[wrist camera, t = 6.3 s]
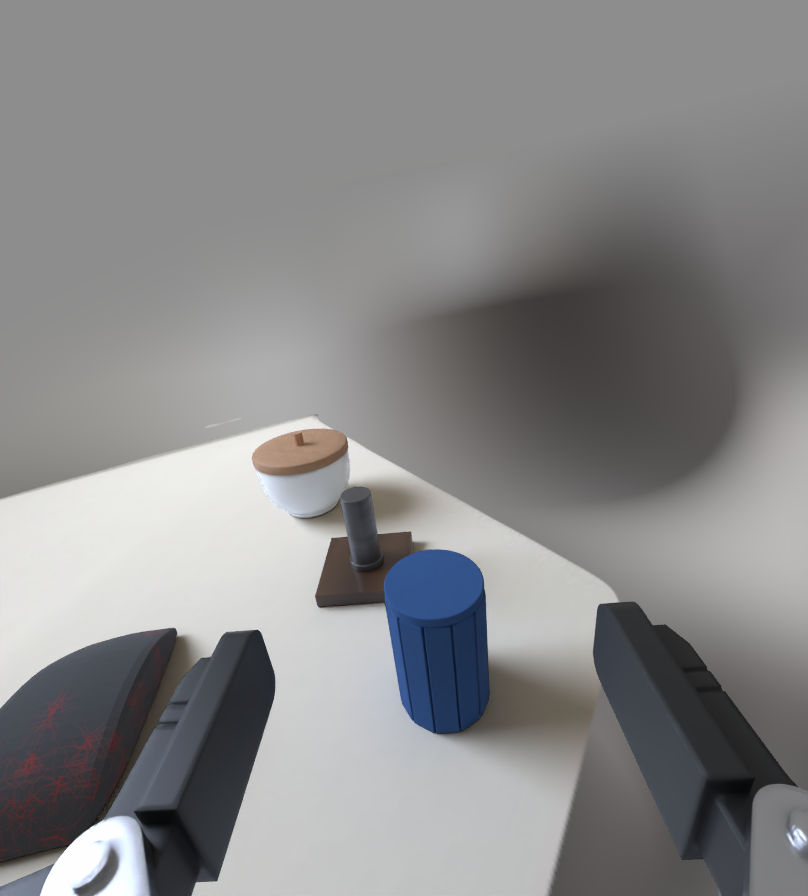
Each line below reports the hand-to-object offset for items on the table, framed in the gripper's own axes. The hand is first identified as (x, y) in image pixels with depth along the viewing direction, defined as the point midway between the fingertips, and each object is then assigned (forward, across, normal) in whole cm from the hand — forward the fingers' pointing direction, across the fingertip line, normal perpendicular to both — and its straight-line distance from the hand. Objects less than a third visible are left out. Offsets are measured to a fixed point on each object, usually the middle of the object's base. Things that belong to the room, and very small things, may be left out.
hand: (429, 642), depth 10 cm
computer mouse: (+10, -23, -17) cm, 30 cm away
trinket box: (+36, -14, -17) cm, 42 cm away
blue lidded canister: (+11, 0, -17) cm, 20 cm away
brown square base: (+23, -6, -17) cm, 29 cm away
